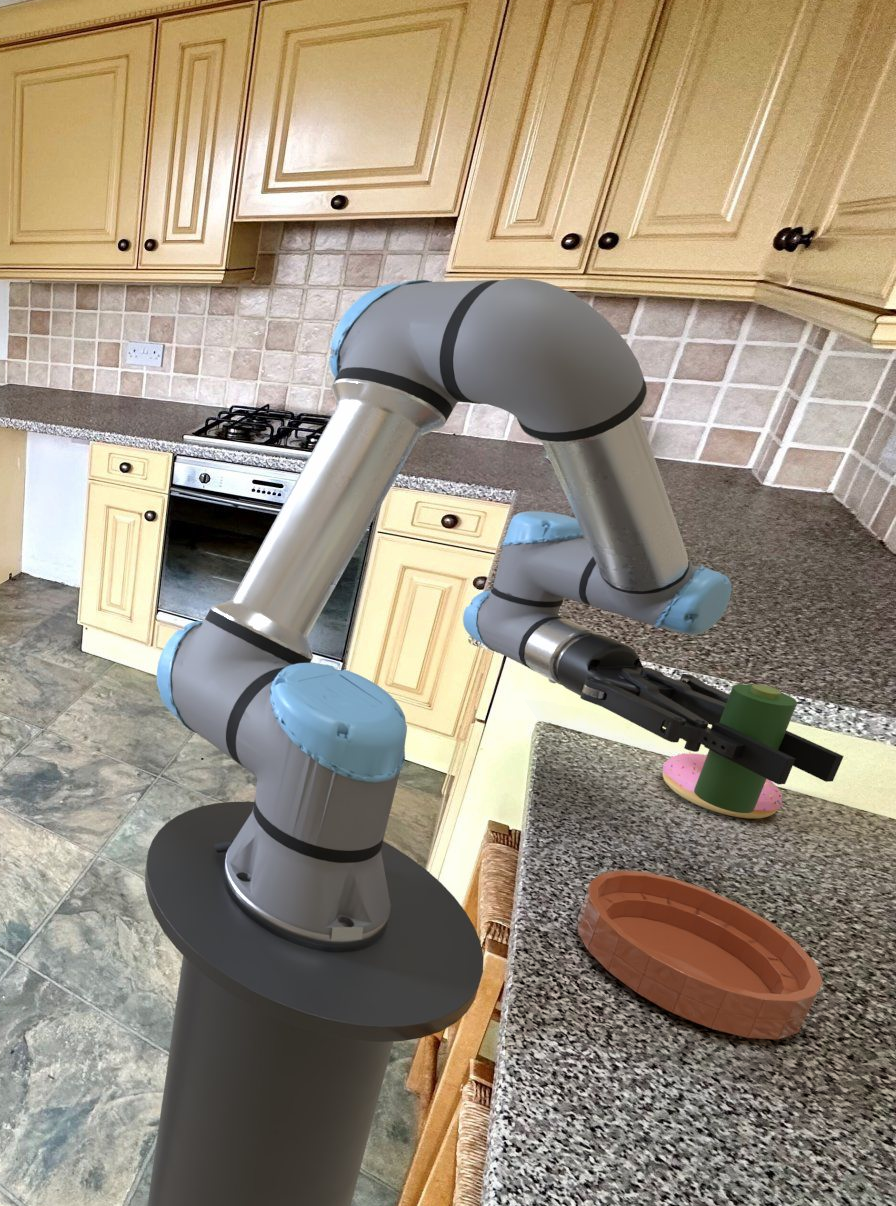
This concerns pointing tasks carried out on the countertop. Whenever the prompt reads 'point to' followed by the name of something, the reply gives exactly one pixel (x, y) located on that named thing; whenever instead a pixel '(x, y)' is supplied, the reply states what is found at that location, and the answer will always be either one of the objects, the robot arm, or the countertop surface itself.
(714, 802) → the battery
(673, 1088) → the countertop surface
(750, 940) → the bowl
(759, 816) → the doughnut
